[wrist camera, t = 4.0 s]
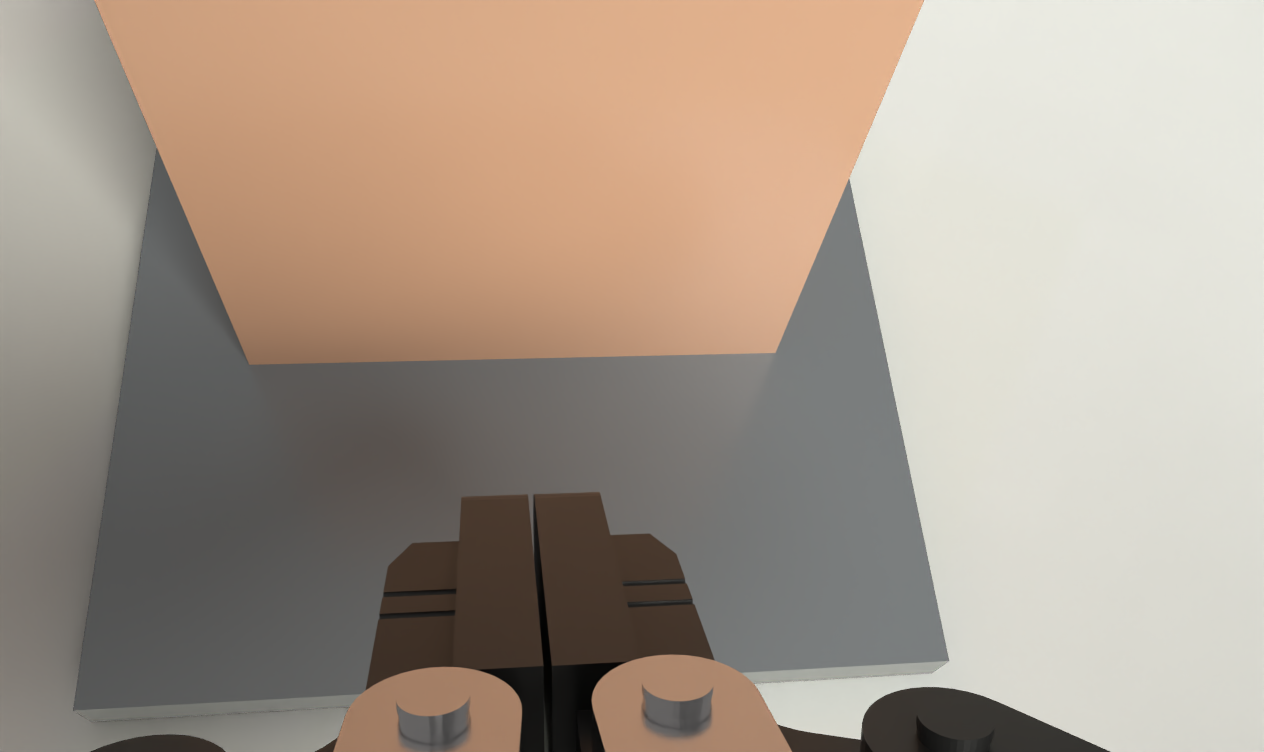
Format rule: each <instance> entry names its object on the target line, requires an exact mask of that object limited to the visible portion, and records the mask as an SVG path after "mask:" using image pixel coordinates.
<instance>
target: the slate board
mask: <svg viewBox="0 0 1264 752" xmlns="http://www.w3.org/2000/svg"><path fill="white" fill-rule="evenodd" d="M583 492H600V495H601V498H602V502H603V507H604V511H605V515H606V519H607V523H608V527H609V531H610V535H622V534H647V533H650V534H651V535H652V536H654V537H655V538H656V539H658V540H659V541H660V542H661V543H663V544H664V545H665V546H667V547H668V548H669V549H671V550H672V551H673V552H675V553H676V554H677V557H678V560H679V563H680V565H681V568H682V571H683V574H684V576H685V583H687V585H688V587H689V590H690V593H691V596H692V599H693V604H695V607H696V610H697V612H698V615H699V618H700V621H701V623H702V626H703V629H704V632H705V634H706V637H707V640H708V643H709V646H710V648H711V651H712V654H713V657H714V659H715V661H717V662H719V663H722V664H725V665H727V666H729V667H731V668H733V669H735V670H737V671H739V672H740V673H742V674H743V675H745V676H746V677H747V678H748V679H749V680H750V681H751V682H752V683H753V684H755V683H772V682H789V681H807V680H824V679H841V678H858V677H876V676H893V675H910V674H927V673H933V672H935V671H936V670H937V669H939V668H940V667H942V666H943V665H944V664H946V663H947V662H948V661H949V658H948V653H947V649H946V644H945V639H944V634H943V629H942V624H941V620H940V615H939V610H938V605H937V600H936V595H935V591H934V586H933V581H932V576H931V571H930V566H929V562H928V557H927V552H926V547H925V542H924V538H923V533H922V528H921V523H920V518H919V513H918V509H917V504H916V499H915V494H914V489H913V484H912V480H911V475H910V470H909V465H908V460H907V455H906V451H905V446H904V441H903V436H902V431H901V426H900V422H899V417H898V412H897V407H896V402H895V398H894V393H893V388H892V383H891V378H890V373H889V369H888V364H887V359H886V354H885V349H884V344H883V340H882V335H881V330H880V325H879V320H878V315H877V311H876V306H875V301H874V296H873V291H872V286H871V282H870V277H869V272H868V267H867V262H866V257H865V253H864V248H863V243H862V238H861V233H860V229H859V224H858V219H857V214H856V209H855V204H854V200H853V195H852V190H851V185H850V180H848V182H847V184H846V187H845V189H844V192H843V194H842V196H841V199H840V201H839V203H838V206H837V208H836V210H835V213H834V215H833V218H832V220H831V222H830V225H829V227H828V229H827V232H826V234H825V237H824V239H823V241H822V244H821V246H820V248H819V251H818V253H817V256H816V258H815V260H814V263H813V265H812V267H811V270H810V272H809V275H808V277H807V279H806V282H805V284H804V286H803V289H802V291H801V294H800V296H799V298H798V301H797V303H796V305H795V308H794V310H793V312H792V315H791V317H790V320H789V322H788V324H787V327H786V329H785V331H784V334H783V336H782V339H781V341H780V343H779V346H778V348H777V350H776V353H750V354H705V355H661V356H616V357H572V358H527V359H482V360H438V361H393V362H349V363H304V364H259V365H249V363H248V360H247V358H246V356H245V353H244V351H243V349H242V346H241V344H240V342H239V339H238V337H237V335H236V332H235V330H234V328H233V325H232V323H231V321H230V318H229V316H228V313H227V311H226V309H225V306H224V304H223V302H222V299H221V297H220V295H219V292H218V290H217V288H216V285H215V283H214V281H213V278H212V276H211V273H210V271H209V269H208V266H207V264H206V262H205V259H204V257H203V255H202V252H201V250H200V248H199V245H198V243H197V241H196V238H195V236H194V234H193V231H192V229H191V226H190V224H189V222H188V219H187V217H186V215H185V212H184V210H183V208H182V205H181V203H180V201H179V198H178V196H177V194H176V191H175V189H174V186H173V184H172V182H171V179H170V177H169V175H168V172H167V170H166V168H165V165H164V163H163V161H162V158H161V156H160V154H159V151H158V149H157V150H156V156H155V163H154V170H153V177H152V183H151V190H150V197H149V203H148V210H147V217H146V224H145V230H144V237H143V244H142V251H141V257H140V264H139V271H138V277H137V284H136V291H135V298H134V304H133V311H132V318H131V325H130V331H129V338H128V345H127V352H126V358H125V365H124V372H123V378H122V385H121V392H120V399H119V405H118V412H117V419H116V426H115V432H114V439H113V446H112V452H111V459H110V466H109V473H108V479H107V486H106V493H105V500H104V506H103V513H102V520H101V527H100V533H99V540H98V547H97V553H96V560H95V567H94V574H93V580H92V587H91V594H90V601H89V607H88V614H87V621H86V627H85V634H84V641H83V648H82V654H81V661H80V668H79V675H78V681H77V688H76V695H75V702H74V708H73V711H75V712H76V713H78V714H79V715H81V716H83V717H84V718H86V719H88V720H89V721H91V722H98V721H116V720H133V719H150V718H167V717H185V716H202V715H219V714H237V713H254V712H271V711H288V710H306V709H323V708H340V707H350V706H351V704H352V703H353V702H354V701H355V699H356V698H357V697H359V696H360V695H361V694H362V693H363V692H364V691H365V690H366V685H367V679H368V674H369V668H370V663H371V657H372V652H373V646H374V641H375V635H376V629H377V624H378V619H379V613H380V607H381V602H382V597H383V591H384V585H385V580H386V574H387V569H388V566H389V565H390V564H391V563H392V562H393V561H394V560H395V559H396V558H397V557H398V556H399V555H400V554H401V553H402V552H403V551H404V550H405V549H406V548H407V547H408V546H409V545H410V544H412V543H421V542H446V541H459V532H460V513H461V497H467V496H495V495H523V494H528V500H529V511H530V522H531V533H532V544H533V555H534V541H533V496H534V494H555V493H583Z"/></svg>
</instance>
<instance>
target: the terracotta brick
mask: <svg viewBox="0 0 1264 752" xmlns="http://www.w3.org/2000/svg"><path fill="white" fill-rule="evenodd" d="M94 1H95V3H96V5H97V8H98V10H99V12H100V15H101V17H102V20H103V22H104V24H105V27H106V29H107V31H108V34H109V36H110V38H111V41H112V43H113V45H114V48H115V50H116V52H117V55H118V57H119V59H120V62H121V64H122V67H123V69H124V71H125V74H126V76H127V78H128V81H129V83H130V85H131V88H132V90H133V92H134V95H135V97H136V99H137V102H138V104H139V107H140V109H141V111H142V114H143V116H144V118H145V121H146V123H147V125H148V128H149V130H150V132H151V135H152V137H153V139H154V142H155V144H156V146H157V149H158V151H159V154H160V156H161V158H162V161H163V163H164V165H165V168H166V170H167V172H168V175H169V177H170V179H171V182H172V184H173V186H174V189H175V191H176V194H177V196H178V198H179V201H180V203H181V205H182V208H183V210H184V212H185V215H186V217H187V219H188V222H189V224H190V226H191V229H192V231H193V234H194V236H195V238H196V241H197V243H198V245H199V248H200V250H201V252H202V255H203V257H204V259H205V262H206V264H207V266H208V269H209V271H210V273H211V276H212V278H213V281H214V283H215V285H216V288H217V290H218V292H219V295H220V297H221V299H222V302H223V304H224V306H225V309H226V311H227V313H228V316H229V318H230V321H231V323H232V325H233V328H234V330H235V332H236V335H237V337H238V339H239V342H240V344H241V346H242V349H243V351H244V353H245V356H246V358H247V360H248V363H249V365H259V364H304V363H349V362H393V361H438V360H482V359H527V358H572V357H616V356H661V355H705V354H750V353H776V350H777V348H778V346H779V343H780V341H781V339H782V336H783V334H784V331H785V329H786V327H787V324H788V322H789V320H790V317H791V315H792V312H793V310H794V308H795V305H796V303H797V301H798V298H799V296H800V294H801V291H802V289H803V286H804V284H805V282H806V279H807V277H808V275H809V272H810V270H811V267H812V265H813V263H814V260H815V258H816V256H817V253H818V251H819V248H820V246H821V244H822V241H823V239H824V237H825V234H826V232H827V229H828V227H829V225H830V222H831V220H832V218H833V215H834V213H835V210H836V208H837V206H838V203H839V201H840V199H841V196H842V194H843V192H844V189H845V187H846V184H847V182H848V180H849V177H850V175H851V173H852V170H853V168H854V165H855V163H856V161H857V158H858V156H859V154H860V151H861V149H862V146H863V144H864V142H865V139H866V137H867V135H868V132H869V130H870V127H871V125H872V123H873V120H874V118H875V116H876V113H877V111H878V108H879V106H880V104H881V101H882V99H883V97H884V94H885V92H886V89H887V87H888V85H889V82H890V80H891V78H892V75H893V73H894V71H895V68H896V66H897V63H898V61H899V59H900V56H901V54H902V52H903V49H904V47H905V44H906V42H907V40H908V37H909V35H910V33H911V30H912V28H913V25H914V23H915V21H916V18H917V16H918V14H919V11H920V9H921V6H922V4H923V2H924V0H94Z"/></svg>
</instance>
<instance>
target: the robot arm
mask: <svg viewBox="0 0 1264 752" xmlns="http://www.w3.org/2000/svg"><path fill="white" fill-rule="evenodd" d="M533 541H534V555H533V544H532V533H531V522H530V511H529V500H528V494H523V495H495V496H467V497H461V513H460V532H459V541H446V542H421V543H412V544H410V545H409V546H408V547H407V548H406V549H405V550H404V551H403V552H402V553H401V554H400V555H399V556H398V557H397V558H396V559H395V560H394V561H393V562H392V563H391V564H390V565H389V566H388V569H387V574H386V580H385V585H384V591H383V597H382V602H381V607H380V613H379V619H378V624H377V629H376V635H375V641H374V646H373V652H372V657H371V663H370V668H369V674H368V679H367V685H366V690H365V691H364V692H363V693H362V694H361V695H360V696H359V697H357V698H356V699H355V701H354V702H353V703H352V704H351V706H350V707H349V709H348V711H347V713H346V715H345V718H344V721H343V724H342V727H341V730H340V733H339V736H338V738H337V739H335V740H334V741H332V742H331V743H329V744H328V745H326V746H325V747H323V748H321V749H319V750H317V751H315V752H1110V751H1107V750H1105V749H1103V748H1101V747H1098V746H1096V745H1094V744H1092V743H1089V742H1087V741H1085V740H1083V739H1080V738H1078V737H1076V736H1074V735H1071V734H1069V733H1067V732H1064V731H1062V730H1060V729H1058V728H1055V727H1053V726H1051V725H1049V724H1046V723H1044V722H1042V721H1040V720H1037V719H1035V718H1033V717H1031V716H1028V715H1026V714H1024V713H1022V712H1019V711H1017V710H1015V709H1013V708H1010V707H1008V706H1006V705H1004V704H1001V703H999V702H997V701H994V700H992V699H989V698H986V697H984V696H981V695H977V694H974V693H970V692H966V691H961V690H956V689H949V688H939V687H921V688H910V689H905V690H900V691H896V692H893V693H891V694H888V695H885V696H884V697H882V698H880V699H878V700H877V701H876V702H874V703H873V704H872V705H871V706H870V707H869V708H868V710H867V712H866V713H865V715H864V718H863V722H862V732H861V740H858V739H851V738H844V737H837V736H830V735H823V734H816V733H810V732H804V731H799V730H794V729H791V728H787V727H784V726H780V725H778V724H777V723H776V721H775V720H774V718H773V716H772V714H771V712H770V710H769V709H768V707H767V705H766V703H765V701H764V699H763V698H762V696H761V694H760V692H759V691H758V689H757V688H756V686H755V685H754V684H753V683H752V682H751V681H750V680H749V679H748V678H747V677H746V676H745V675H743V674H742V673H740V672H739V671H737V670H735V669H733V668H731V667H729V666H727V665H725V664H722V663H719V662H717V661H715V659H714V657H713V654H712V651H711V648H710V646H709V643H708V640H707V637H706V634H705V632H704V629H703V626H702V623H701V621H700V618H699V615H698V612H697V610H696V607H695V604H693V599H692V596H691V593H690V590H689V587H688V585H687V583H685V576H684V574H683V571H682V568H681V565H680V563H679V560H678V557H677V554H676V553H675V552H673V551H672V550H671V549H669V548H668V547H667V546H665V545H664V544H663V543H661V542H660V541H659V540H658V539H656V538H655V537H654V536H652V535H651V534H650V533H647V534H622V535H610V531H609V527H608V523H607V519H606V515H605V511H604V507H603V502H602V498H601V495H600V492H583V493H555V494H534V496H533ZM91 752H225V751H224V750H223V749H222V748H221V747H219V746H217V745H216V744H214V743H212V742H209V741H207V740H204V739H201V738H196V737H191V736H185V735H152V736H144V737H137V738H132V739H128V740H123V741H119V742H116V743H113V744H110V745H106V746H103V747H101V748H98V749H96V750H93V751H91Z"/></svg>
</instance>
